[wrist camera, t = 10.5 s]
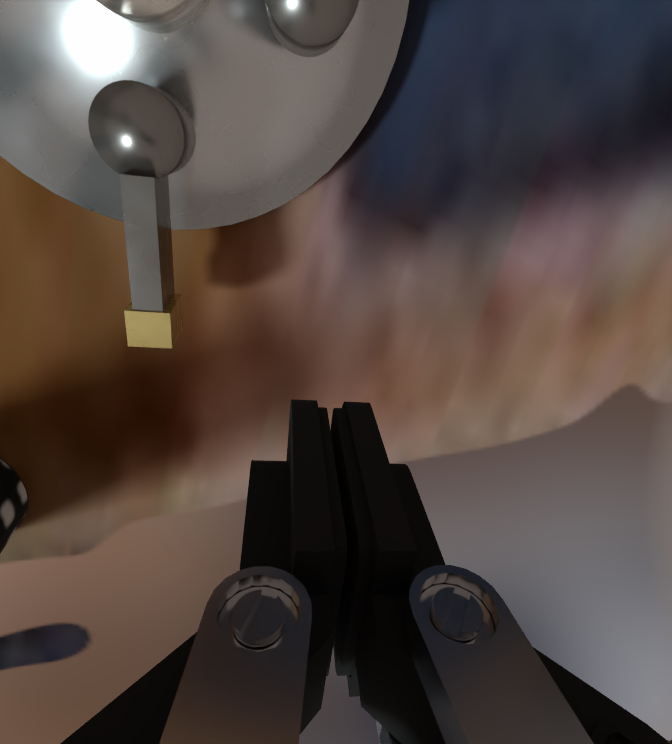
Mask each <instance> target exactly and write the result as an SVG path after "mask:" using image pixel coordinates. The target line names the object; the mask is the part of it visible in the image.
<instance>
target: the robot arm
mask: <svg viewBox="0 0 672 744" xmlns="http://www.w3.org/2000/svg"><path fill="white" fill-rule="evenodd" d="M333 647H334V657H335V668H336V673H337V675H338V676H341V675H347V678H348V688H349V696H350V697H351V696H360V701H361V706H362V707H363V708H364V709H365V710H366V711H367V712H368V713H369V714H370V715H371V716H372V717H373V718H374V719H375V720H377V728H378V736H379V740H380V744H672V740H671V741H668V740H666V739H664V738H663V737H662V736H661V735H659V734H658V733H657V732H656V731H655V730H653V729H652V728H651V727H650V726H648V725H647V724H646V723H644V722H643V721H641V720H640V719H638V718H637V717H635V716H634V715H632V714H631V713H629V712H628V711H627V710H625V709H623V708H622V707H621V706H619V705H618V704H616V703H615V702H613V701H612V700H610V699H609V698H607V697H606V696H604V695H603V694H601V693H600V692H598V691H597V690H596V689H594V688H593V687H591V686H590V685H588V684H587V683H585V682H584V681H582V680H581V679H579V678H578V677H576V676H575V675H573V674H572V673H570V672H569V671H567V670H566V669H564V668H563V667H562V666H560V665H558V664H557V663H556V662H554V661H553V660H551V659H550V658H548V657H547V656H545V655H544V654H542V653H541V652H539V651H538V650H536V649H535V648H533V647H532V645H531V644H530V642H529V640H528V639H527V638H526V636H525V634H524V632H523V631H522V629H521V628H520V626H519V625H518V623H517V621H516V620H515V618H514V617H513V615H512V614H511V612H510V610H509V609H508V607H507V606H506V604H505V602H504V601H503V599H502V598H501V597H500V595H499V594H498V593H497V592H496V591H495V589H494V588H493V587H492V586H491V585H490V584H489V583H488V582H486V581H485V580H484V579H483V578H481V577H480V576H479V575H476V574H475V573H473V572H471V571H469V570H467V569H464V568H460V567H456V566H452V565H445V562H444V560H443V557H442V554H441V552H440V549H439V546H438V544H437V541H436V538H435V536H434V533H433V530H432V528H431V525H430V522H429V520H428V517H427V515H426V512H425V509H424V506H423V504H422V501H421V499H420V496H419V493H418V490H417V488H416V485H415V483H414V480H413V477H412V474H411V472H410V470H409V468H408V466H407V465H406V464H390V463H389V460H388V457H387V454H386V451H385V448H384V445H383V442H382V438H381V435H380V432H379V429H378V426H377V423H376V420H375V417H374V413H373V410H372V407H371V405H370V403H362V402H344V403H343V406H342V408H334V410H333V415H332V423H331V431H330V425H329V419H328V412H327V408H321V407H318V404H317V401H314V400H291V406H290V420H289V434H288V447H287V461H255V460H252V461H251V468H250V477H249V487H248V496H247V506H246V516H245V525H244V534H243V544H242V553H241V563H240V571H237V572H236V573H234V574H232V575H230V576H229V577H227V578H226V579H224V580H223V581H222V582H221V583H220V584H219V586H217V587H216V588H215V590H214V591H213V593H212V595H211V597H210V599H209V601H208V602H207V605H206V607H205V611H204V613H203V616H202V619H201V622H200V625H199V628H198V631H197V632H196V633H195V634H194V635H193V636H191V637H190V638H189V639H188V640H187V641H185V642H184V643H183V644H182V645H180V646H179V647H178V648H177V649H176V650H174V651H173V652H172V653H171V654H169V655H168V656H167V657H166V658H165V659H163V660H162V661H161V662H160V663H158V664H157V665H156V666H155V667H154V668H152V669H151V670H150V671H149V672H147V673H146V674H145V675H144V676H143V677H141V678H140V679H139V680H138V681H136V682H135V683H134V684H133V685H132V686H130V687H129V688H128V689H127V690H125V691H124V692H123V693H122V694H121V695H119V696H118V697H117V698H116V699H114V700H113V701H112V702H111V703H110V704H108V705H107V706H106V707H105V708H103V709H102V710H101V711H100V712H99V713H97V714H96V715H95V716H94V717H92V718H91V719H90V720H89V721H88V722H86V723H85V724H84V725H83V726H81V727H80V728H79V729H78V730H77V731H75V732H74V733H73V734H72V735H71V736H69V737H68V738H67V739H66V740H64V741H63V742H62V743H61V744H299V735H300V734H301V732H302V731H303V730H304V729H305V727H306V726H307V725H308V724H309V722H310V721H311V720H312V719H313V717H314V716H315V715H316V714H317V712H318V711H319V710H320V709H321V705H322V698H323V692H324V686H325V680H326V676H328V673H329V668H330V661H331V655H332V649H333Z"/></svg>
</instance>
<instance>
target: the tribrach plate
mask: <svg viewBox="0 0 672 744" xmlns="http://www.w3.org/2000/svg"><path fill="white" fill-rule="evenodd" d="M408 5H409V0H359V3H358V7H357V10H356V12H355V15H354V17H353V19H352V21H351V22H350V24H349V26H348V27H347V29H346V30H345V32H344V33H343V35H342V37H341V38H340V40H339V41H338V42H337V44H336V45H335V46H334V47H333V48H332V49H330V50H329V51H328V52H326V53H324V54H322V55H319V56H315V57H303V56H299V55H296V54H294V53H292V52H290V51H289V50H287V49H286V48H285V47H284V46H283V45H282V44H281V43H280V42H279V41H278V40H277V38H276V37H275V35H274V33H273V32H272V29H271V27H270V25H269V22H268V18H267V13H266V5H265V0H0V156H2V157H3V158H4V159H5V160H7V161H8V162H9V163H11V164H12V165H13V166H14V167H16V168H17V169H18V170H19V171H21V172H22V173H23V174H25V175H26V176H28V177H30V178H31V179H33V180H34V181H36V182H37V183H39V184H41V185H42V186H44V187H45V188H47V189H49V190H50V191H52V192H53V193H55V194H57V195H59V196H61V197H63V198H65V199H67V200H69V201H71V202H73V203H75V204H77V205H79V206H81V207H83V208H86V209H88V210H91V211H94V212H97V213H99V214H102V215H105V216H108V217H110V218H113V219H116V220H120V221H124V217H123V207H122V197H121V186H120V176H119V173H117V172H116V171H114V170H113V169H112V168H111V167H109V166H108V165H107V164H106V163H105V162H104V160H103V159H102V158H101V157H100V155H99V154H98V152H97V150H96V149H95V147H94V145H93V142H92V140H91V136H90V132H89V126H88V116H89V110H90V106H91V104H92V101H93V99H94V97H95V96H96V95H97V93H98V92H99V91H100V90H101V89H102V88H103V87H105V86H106V85H108V84H110V83H113V82H116V81H120V80H133V81H138V82H141V83H144V84H147V85H149V86H152V87H155V88H157V89H160V90H163V91H165V92H167V93H169V94H171V95H172V96H174V97H175V98H176V99H178V100H179V101H180V102H181V103H182V104H183V106H184V107H185V108H186V110H187V111H188V113H189V114H190V116H191V119H192V121H193V124H194V127H195V132H196V145H195V150H194V153H193V155H192V157H191V159H190V161H189V162H188V163H187V164H186V166H184V167H183V168H182V169H180V170H179V171H177V172H175V173H172V174H169V175H168V182H169V200H170V219H171V229H174V230H182V229H207V228H213V227H220V226H226V225H232V224H235V223H238V222H242V221H245V220H248V219H252V218H255V217H258V216H260V215H262V214H265V213H267V212H269V211H271V210H273V209H275V208H278V207H280V206H282V205H284V204H285V203H287V202H288V201H290V200H291V199H293V198H295V197H296V196H298V195H299V194H301V193H302V192H304V191H305V190H307V189H308V188H309V187H310V186H312V185H313V184H314V183H315V182H316V181H317V180H319V179H320V178H321V177H322V176H323V175H324V174H326V173H327V172H328V171H329V170H330V169H331V168H332V167H333V165H334V164H335V163H336V162H337V161H338V160H339V159H340V158H341V157H342V155H343V154H344V153H345V152H346V151H347V150H348V149H349V147H350V146H351V145H352V143H353V142H354V140H355V139H356V137H357V136H358V134H359V133H360V132H361V130H362V129H363V127H364V126H365V124H366V123H367V121H368V119H369V117H370V116H371V114H372V112H373V110H374V108H375V106H376V104H377V102H378V100H379V98H380V97H381V95H382V93H383V90H384V88H385V85H386V83H387V80H388V78H389V75H390V72H391V70H392V67H393V65H394V62H395V60H396V56H397V52H398V49H399V45H400V41H401V38H402V34H403V30H404V26H405V23H406V17H407V11H408Z"/></svg>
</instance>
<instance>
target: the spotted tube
mask: <svg viewBox="0 0 672 744" xmlns="http://www.w3.org/2000/svg"><path fill="white" fill-rule="evenodd" d="M27 505H28V498H27V494H26V489H25V487H24V485H23V483H22V481H21V479H20V478H19V477H18V476H17V474H16V473H15V472H14V471H13V469H11V468H10V467H9V466H8V465H7V464H6V463H5V462H4V461H2V460H1V459H0V553H1V551H2V550H3V548H4V547H5V545H6V544H7V542H8V541H9V539H10V538H11V536H12V535H13V533H14V532H15V530H16V529H17V527H18V526H19V524H20V523H21V521H22V520H23V518H24V516H25V514H26V511H27Z"/></svg>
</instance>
